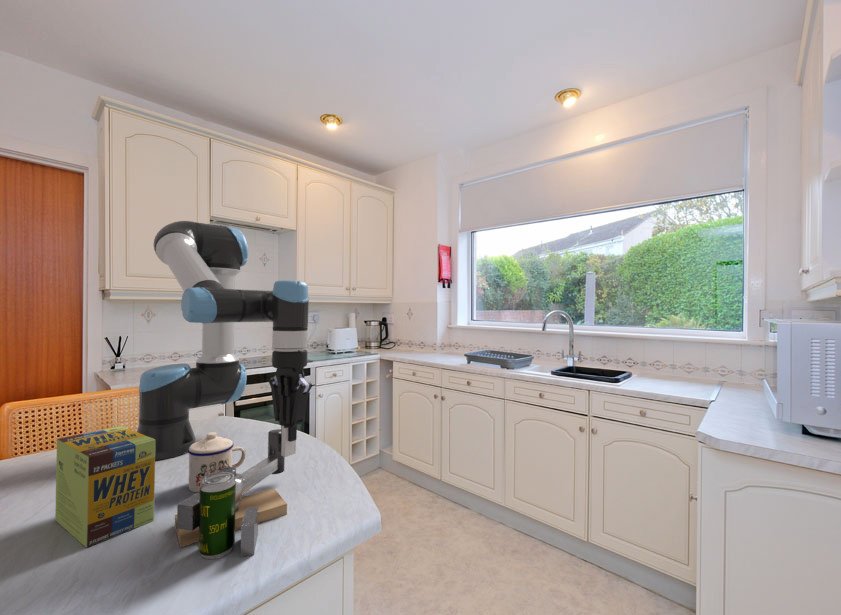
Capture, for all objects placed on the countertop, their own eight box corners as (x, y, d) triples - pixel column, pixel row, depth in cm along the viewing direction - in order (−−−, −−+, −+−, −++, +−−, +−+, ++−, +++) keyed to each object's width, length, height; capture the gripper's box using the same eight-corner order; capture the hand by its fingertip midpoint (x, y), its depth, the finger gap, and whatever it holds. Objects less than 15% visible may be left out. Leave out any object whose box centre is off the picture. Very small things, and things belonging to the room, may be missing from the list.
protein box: (86, 549, 65) (87, 456, 65) (54, 520, 73) (55, 438, 73) (155, 520, 74) (157, 438, 74) (120, 498, 82) (121, 424, 82)
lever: (198, 537, 63) (198, 482, 63) (171, 533, 64) (172, 479, 64) (290, 468, 90) (291, 430, 90) (270, 466, 92) (271, 428, 92)
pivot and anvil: (213, 519, 74) (214, 469, 74) (244, 511, 77) (244, 462, 77) (231, 562, 62) (232, 502, 62) (267, 550, 65) (268, 492, 65)
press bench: (174, 525, 72) (175, 514, 72) (274, 497, 83) (274, 488, 83) (180, 547, 66) (180, 535, 66) (286, 513, 77) (287, 503, 77)
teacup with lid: (192, 498, 82) (193, 443, 82) (183, 483, 89) (184, 432, 89) (251, 482, 90) (252, 431, 90) (239, 469, 97) (239, 422, 97)
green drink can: (226, 536, 69) (227, 469, 69) (240, 549, 65) (241, 478, 65) (193, 550, 65) (194, 479, 65) (206, 565, 61) (207, 489, 61)
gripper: (322, 350, 87) (320, 456, 86) (287, 346, 94) (285, 443, 94) (293, 352, 81) (291, 466, 80) (258, 348, 88) (256, 452, 88)
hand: (288, 454), depth 87 cm, fingers closed
